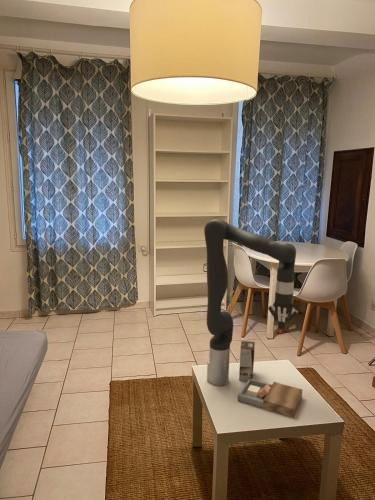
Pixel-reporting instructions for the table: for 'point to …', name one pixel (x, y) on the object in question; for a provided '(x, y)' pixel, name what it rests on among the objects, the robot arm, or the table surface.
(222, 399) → the table surface
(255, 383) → the bin
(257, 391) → the tile
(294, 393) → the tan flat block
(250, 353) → the coffee box
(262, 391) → the tile
